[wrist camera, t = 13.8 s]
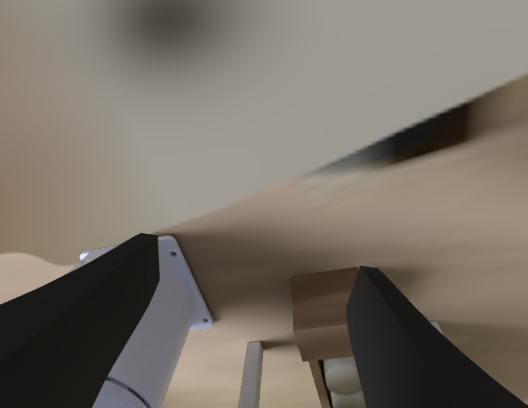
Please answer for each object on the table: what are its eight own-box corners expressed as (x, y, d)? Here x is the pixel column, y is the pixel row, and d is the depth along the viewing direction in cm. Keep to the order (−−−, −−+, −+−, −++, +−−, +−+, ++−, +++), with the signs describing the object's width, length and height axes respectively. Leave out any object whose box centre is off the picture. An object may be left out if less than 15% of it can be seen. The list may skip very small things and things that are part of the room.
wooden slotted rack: (290, 276, 22) (291, 331, 18) (356, 266, 21) (374, 320, 17) (326, 403, 29) (333, 464, 25) (376, 399, 29) (393, 462, 24)
